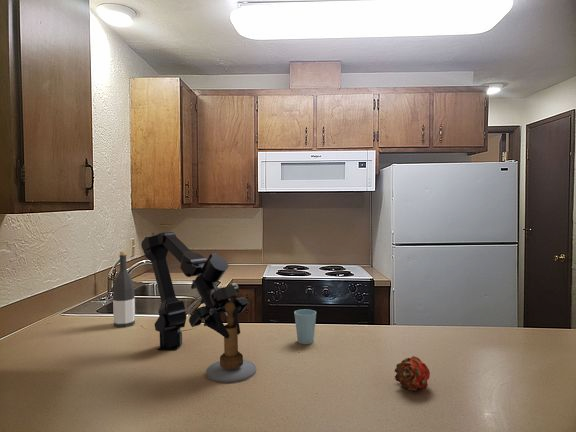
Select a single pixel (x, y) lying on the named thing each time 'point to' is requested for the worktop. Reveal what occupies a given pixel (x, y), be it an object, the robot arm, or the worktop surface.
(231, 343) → the wooden pepper mill
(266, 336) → the worktop surface
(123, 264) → the wine bottle
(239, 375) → the mat
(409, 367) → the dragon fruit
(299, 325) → the cup
